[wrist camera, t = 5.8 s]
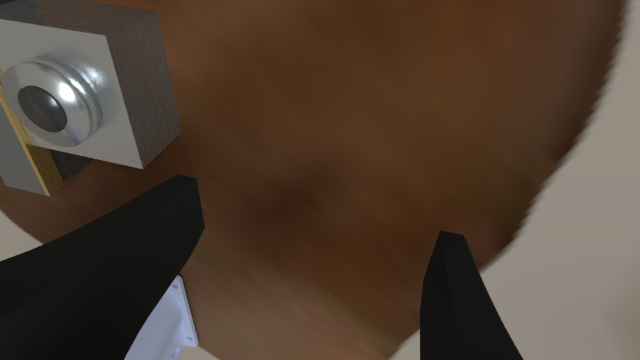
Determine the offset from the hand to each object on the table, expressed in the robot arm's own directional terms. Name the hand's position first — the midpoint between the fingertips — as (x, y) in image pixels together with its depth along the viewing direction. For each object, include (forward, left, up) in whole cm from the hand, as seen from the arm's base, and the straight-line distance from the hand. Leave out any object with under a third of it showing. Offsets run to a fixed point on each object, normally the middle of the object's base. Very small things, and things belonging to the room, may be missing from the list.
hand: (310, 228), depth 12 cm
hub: (0, +12, -8) cm, 14 cm away
